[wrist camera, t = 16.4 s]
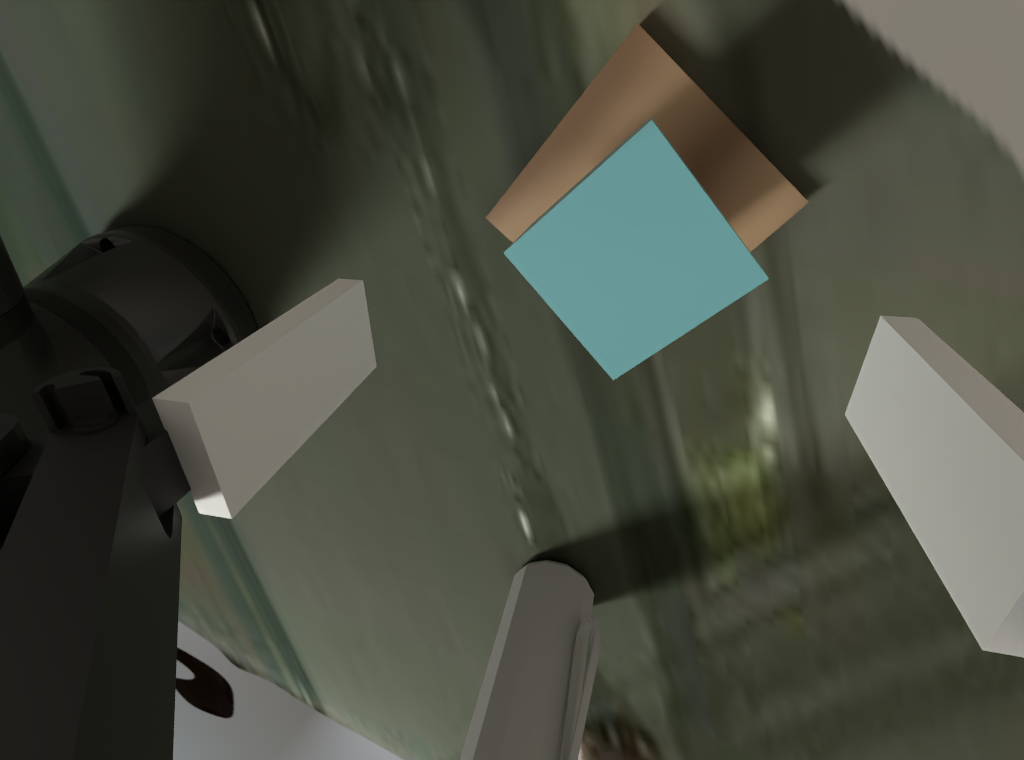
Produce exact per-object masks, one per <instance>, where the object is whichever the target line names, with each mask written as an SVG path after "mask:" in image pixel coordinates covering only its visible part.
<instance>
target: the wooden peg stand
mask: <svg viewBox="0 0 1024 760" xmlns="http://www.w3.org/2000/svg"><path fill="white" fill-rule="evenodd" d="M649 117H652V119H653V120H654V121H655V123H656V124H657V126H658V127H659V128H660V130H661V131H662V132H663V134H664V135H665V136H666V138H667V139H668V140H669V142H670V143H671V145H672V146H673V147H674V149H675V150H676V151H677V153H678V154H679V155H680V157H681V158H682V160H683V161H684V162H685V164H686V165H687V166H688V168H689V169H690V170H691V172H692V173H693V174H694V176H695V177H696V179H697V180H698V181H699V183H700V184H701V185H702V187H703V188H704V189H705V191H706V192H707V193H708V195H709V196H710V198H711V199H712V200H713V202H714V203H715V204H716V206H717V207H718V208H719V210H720V211H721V212H722V214H723V215H724V217H725V218H726V219H727V221H728V222H729V223H730V225H731V226H732V227H733V229H734V230H735V231H736V233H737V234H738V236H739V237H740V238H741V240H742V241H743V242H744V244H745V245H746V247H747V248H748V250H749V251H750V252H751V251H752V250H753V249H754V248H756V247H757V246H758V245H759V244H760V243H762V242H763V241H764V240H765V239H766V238H767V237H769V236H770V235H771V234H772V233H773V232H774V231H776V230H777V229H778V228H779V227H780V226H782V225H783V224H784V223H785V222H786V221H787V220H789V219H790V218H791V217H792V216H793V215H795V214H796V213H797V212H798V211H799V210H800V209H802V208H803V207H804V206H805V205H806V204H807V203H809V202H808V201H807V200H806V199H805V198H804V197H803V196H802V195H801V194H800V193H799V192H798V191H797V189H796V188H795V187H794V186H793V185H792V184H791V183H790V182H789V181H788V180H787V179H786V178H785V177H784V176H783V175H782V174H781V173H780V172H779V171H778V170H777V169H776V167H775V166H774V165H773V164H772V163H771V162H770V161H769V160H768V159H767V158H766V157H765V156H764V155H763V154H762V153H761V152H760V151H759V150H758V149H757V148H756V147H755V146H754V144H753V143H752V142H751V141H750V140H749V139H748V138H747V137H746V136H745V135H744V134H743V133H742V132H741V131H740V130H739V129H738V128H737V127H736V126H735V125H734V124H733V122H732V121H731V120H730V119H729V118H728V117H727V116H726V115H725V114H724V113H723V112H722V111H721V110H720V109H719V108H718V107H717V106H716V105H715V104H714V103H713V102H712V101H711V99H710V98H709V97H708V96H707V95H706V94H705V93H704V92H703V91H702V90H701V89H700V88H699V87H698V86H697V85H696V84H695V83H694V82H693V81H692V80H691V79H690V77H689V76H688V75H687V74H686V73H685V72H684V71H683V70H682V69H681V68H680V67H679V66H678V65H677V64H676V63H675V62H674V61H673V60H672V59H671V58H670V57H669V55H668V54H667V53H666V52H665V51H664V50H663V49H662V48H661V47H660V46H659V45H658V44H657V43H656V42H655V41H654V40H653V39H652V38H651V37H650V36H649V35H648V34H647V32H646V31H645V30H644V29H643V28H642V27H641V26H640V25H639V24H637V25H636V26H635V27H634V29H633V30H632V31H631V33H630V34H629V35H628V36H627V38H626V39H625V40H624V42H623V43H622V44H621V45H620V47H619V48H618V49H617V51H616V52H615V53H614V54H613V56H612V57H611V58H610V59H609V61H608V62H607V63H606V65H605V66H604V67H603V68H602V70H601V71H600V72H599V74H598V75H597V76H596V77H595V79H594V80H593V81H592V82H591V84H590V85H589V86H588V88H587V89H586V90H585V91H584V93H583V94H582V95H581V97H580V98H579V99H578V100H577V102H576V103H575V104H574V106H573V107H572V108H571V109H570V111H569V112H568V113H567V114H566V116H565V117H564V118H563V120H562V121H561V122H560V123H559V125H558V126H557V127H556V129H555V130H554V131H553V132H552V134H551V135H550V136H549V137H548V139H547V140H546V141H545V143H544V144H543V145H542V146H541V148H540V149H539V150H538V152H537V153H536V154H535V155H534V157H533V158H532V159H531V161H530V162H529V163H528V164H527V166H526V167H525V168H524V169H523V171H522V172H521V173H520V175H519V176H518V177H517V178H516V180H515V181H514V182H513V184H512V185H511V186H510V187H509V189H508V190H507V191H506V193H505V194H504V195H503V196H502V198H501V199H500V200H499V201H498V203H497V204H496V205H495V207H494V208H493V209H492V210H491V212H490V213H489V214H488V216H487V217H486V219H487V220H488V221H490V222H491V223H492V224H493V225H494V226H495V227H496V228H497V229H498V230H499V231H501V232H502V233H503V234H504V235H505V236H506V237H507V238H508V239H509V240H510V241H511V242H513V243H514V242H515V241H516V239H517V238H518V237H519V236H520V235H521V234H522V233H523V232H524V231H525V230H526V229H527V228H528V227H529V226H530V225H531V224H532V223H533V222H534V221H535V220H536V219H538V218H539V217H540V216H541V215H542V214H543V213H544V212H545V211H546V210H548V209H549V208H550V207H551V206H552V205H553V204H554V203H555V202H556V201H558V200H559V199H560V198H561V197H562V196H563V195H564V194H565V193H566V192H567V191H569V190H570V189H571V188H572V187H573V186H574V185H575V184H576V183H577V182H579V181H580V180H581V179H582V178H583V177H584V176H585V175H586V174H587V173H589V172H590V171H591V170H592V169H593V168H594V167H595V166H596V165H597V164H599V163H600V162H601V161H602V160H603V159H604V158H605V157H606V156H607V155H608V154H610V153H611V152H612V151H613V150H614V149H615V148H616V147H617V146H618V145H620V144H621V143H622V142H623V141H624V140H625V139H626V138H627V137H628V136H630V135H631V134H632V133H633V132H634V131H635V130H636V129H637V128H638V127H639V126H641V125H642V124H643V123H644V122H645V121H646V120H647V119H648V118H649Z"/></svg>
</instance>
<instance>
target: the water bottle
mask: <svg viewBox="0 0 1024 760" xmlns="http://www.w3.org/2000/svg"><path fill="white" fill-rule="evenodd" d="M593 600H594V593H593V591H592V589H591V588H590V586H589V584H588V582H587V580H586V579H585V577H584V576H583V575H582V574H580V573H579V572H577V571H576V570H574V569H573V568H571V567H570V566H568V565H567V564H563V563H558V562H554V561H550V560H544V561H538V562H531V563H529V564H527V565H526V566H524V567H523V568H522V569H521V570H520V571H519V572H517V573H516V574H515V576H514V579H513V582H512V586H511V589H510V593H509V596H508V599H507V603H506V606H505V609H504V613H503V616H502V620H501V623H500V626H499V630H498V633H497V637H496V640H495V643H494V647H493V650H492V653H491V657H490V660H489V664H488V667H487V670H486V674H485V677H484V681H483V684H482V687H481V691H480V694H479V697H478V701H477V704H476V708H475V711H474V714H473V718H472V721H471V725H470V728H469V731H468V735H467V738H466V741H465V745H464V748H463V752H462V755H461V758H460V760H578V755H579V750H580V746H581V741H582V736H583V731H584V726H585V721H586V716H587V711H588V707H589V702H590V697H591V692H592V687H593V682H594V677H595V672H596V668H597V663H598V658H599V653H600V635H601V632H600V624H599V620H598V619H597V618H596V617H595V616H594V615H592V608H593ZM592 626H593V637H592V648H591V653H590V658H589V662H588V667H587V672H586V677H585V682H584V686H583V691H582V685H583V677H584V670H585V662H586V654H587V646H588V639H589V631H590V628H591V627H592ZM581 693H582V696H581Z"/></svg>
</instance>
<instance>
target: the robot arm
mask: <svg viewBox="0 0 1024 760" xmlns="http://www.w3.org/2000/svg"><path fill="white" fill-rule="evenodd" d="M376 367H377V366H376V360H375V353H374V347H373V341H372V334H371V328H370V322H369V315H368V309H367V302H366V296H365V290H364V283H363V280H348V279H337V280H336V281H334V282H333V283H331V284H330V285H328V286H326V287H325V288H323V289H322V290H320V291H319V292H317V293H316V294H314V295H312V296H311V297H309V298H308V299H306V300H305V301H303V302H301V303H300V304H298V305H297V306H295V307H294V308H292V309H291V310H289V311H287V312H286V313H284V314H283V315H281V316H280V317H278V318H276V319H275V320H273V321H272V322H270V323H269V324H267V325H266V326H264V327H262V328H261V329H259V330H258V331H257V327H256V324H255V322H254V319H253V317H252V314H251V312H250V310H249V308H248V306H247V304H246V302H245V300H244V299H243V297H242V295H241V294H240V292H239V291H238V289H237V288H236V286H235V285H234V284H233V282H232V281H231V280H230V279H229V277H228V276H227V275H226V274H225V273H224V272H223V271H222V270H221V268H220V267H219V266H218V265H217V264H216V263H214V262H213V261H212V260H211V259H210V258H209V257H208V256H207V255H205V254H204V253H203V252H202V251H200V250H199V249H198V248H196V247H195V246H193V245H192V244H190V243H189V242H187V241H185V240H183V239H182V238H180V237H178V236H176V235H173V234H171V233H169V232H166V231H163V230H160V229H157V228H152V227H146V226H127V227H122V228H119V229H115V230H112V231H108V232H104V233H101V234H97V235H94V236H92V237H90V238H88V239H86V240H84V241H82V242H81V243H80V244H78V245H77V246H76V247H75V248H73V249H72V250H71V251H69V252H68V253H67V254H66V255H64V256H63V257H62V258H60V259H59V260H58V261H57V262H55V263H54V264H53V265H51V266H50V267H49V268H48V269H46V270H45V271H44V272H43V273H41V274H40V275H39V276H37V277H36V278H35V279H34V280H32V281H31V282H30V283H28V284H27V285H26V286H24V287H23V286H22V284H21V282H20V279H19V277H18V275H17V272H16V270H15V268H14V266H13V263H12V261H11V259H10V256H9V254H8V252H7V250H6V247H5V245H4V243H3V240H2V238H1V236H0V760H173V738H174V711H175V685H176V659H177V632H178V606H179V580H180V554H181V528H182V516H181V513H180V511H179V508H178V506H177V504H176V503H177V502H178V501H179V500H180V499H181V498H182V497H183V496H184V495H186V494H187V493H188V492H189V491H190V492H191V494H192V497H193V499H194V502H195V504H196V507H197V509H198V512H199V513H201V514H206V515H212V516H218V517H224V518H229V519H232V518H233V517H234V516H235V515H236V514H237V513H238V512H239V511H240V510H241V509H242V508H243V507H244V506H245V505H246V504H247V502H248V501H249V500H250V499H251V498H252V497H253V496H254V495H255V494H256V493H257V492H258V491H259V490H260V489H261V488H262V487H263V486H264V485H265V484H266V482H267V481H268V480H269V479H270V478H271V477H272V476H273V475H274V474H275V473H276V472H277V471H278V470H279V469H280V468H281V467H282V466H283V465H284V464H285V462H286V461H287V460H288V459H289V458H290V457H291V456H292V455H293V454H294V453H295V452H296V451H297V450H298V449H299V448H300V447H301V446H302V445H303V444H304V442H305V441H306V440H307V439H308V438H309V437H310V436H311V435H312V434H313V433H314V432H315V431H316V430H317V429H318V428H319V427H320V426H321V425H322V424H323V422H324V421H325V420H326V419H327V418H328V417H329V416H330V415H331V414H332V413H333V412H334V411H335V410H336V409H337V408H338V407H339V406H340V405H341V404H342V402H343V401H344V400H345V399H346V398H347V397H348V396H349V395H350V394H351V393H352V392H353V391H354V390H355V389H356V388H357V387H358V386H359V385H360V383H361V382H362V381H363V380H364V379H365V378H366V377H367V376H368V375H369V374H370V373H371V372H372V371H373V370H374V369H375V368H376ZM845 416H846V418H847V419H848V421H849V423H850V424H851V426H852V428H853V430H854V431H855V433H856V435H857V436H858V438H859V440H860V442H861V443H862V445H863V447H864V448H865V450H866V452H867V454H868V455H869V457H870V459H871V460H872V462H873V464H874V465H875V467H876V469H877V471H878V472H879V474H880V476H881V477H882V479H883V481H884V483H885V484H886V486H887V488H888V489H889V491H890V493H891V495H892V496H893V498H894V500H895V501H896V503H897V505H898V507H899V508H900V510H901V512H902V513H903V515H904V517H905V518H906V520H907V522H908V524H909V525H910V527H911V529H912V530H913V532H914V534H915V536H916V537H917V539H918V541H919V542H920V544H921V546H922V548H923V549H924V551H925V553H926V554H927V556H928V558H929V559H930V561H931V563H932V565H933V566H934V568H935V570H936V571H937V573H938V575H939V577H940V578H941V580H942V582H943V583H944V585H945V587H946V589H947V590H948V592H949V594H950V595H951V597H952V599H953V601H954V602H955V604H956V606H957V607H958V609H959V611H960V612H961V614H962V616H963V618H964V619H965V621H966V623H967V624H968V626H969V628H970V630H971V631H972V633H973V635H974V636H975V638H976V640H977V642H978V643H979V645H980V647H981V648H982V650H985V651H990V652H996V653H1002V654H1008V655H1013V656H1019V657H1024V412H1023V411H1021V410H1020V409H1019V408H1018V407H1017V406H1016V405H1015V404H1014V403H1012V402H1011V401H1010V400H1009V399H1008V398H1007V397H1006V396H1005V395H1003V394H1002V393H1001V392H1000V391H999V390H998V389H997V388H996V387H994V386H993V385H992V384H991V383H990V382H989V381H988V380H987V379H985V378H984V377H983V376H982V375H981V374H980V373H979V372H978V371H976V370H975V369H974V368H973V367H972V366H971V365H970V364H969V363H967V362H966V361H965V360H964V359H963V358H962V357H961V356H959V355H958V354H957V353H956V352H955V351H954V350H953V349H952V348H950V347H949V346H948V345H947V344H946V343H945V342H944V341H943V340H941V339H940V338H939V337H938V336H937V335H936V334H935V333H934V332H932V331H931V330H930V329H929V328H928V327H927V326H926V325H925V324H923V323H922V322H921V321H920V320H919V319H918V318H907V317H892V316H880V318H879V321H878V324H877V327H876V330H875V332H874V335H873V338H872V341H871V343H870V346H869V349H868V352H867V354H866V357H865V360H864V363H863V366H862V368H861V371H860V374H859V377H858V379H857V382H856V385H855V388H854V390H853V393H852V396H851V399H850V402H849V404H848V407H847V410H846V413H845Z"/></svg>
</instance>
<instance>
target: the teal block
mask: <svg viewBox="0 0 1024 760" xmlns="http://www.w3.org/2000/svg"><path fill="white" fill-rule="evenodd" d="M504 254H505V255H506V256H507V258H508V259H509V260H510V261H511V262H512V263H513V265H514V266H515V267H516V268H517V269H518V270H519V272H520V273H521V274H522V275H523V276H524V277H525V278H526V280H527V281H528V282H529V283H530V284H531V285H532V287H533V288H534V289H535V290H536V291H537V292H538V294H539V295H540V296H541V297H542V298H543V299H544V301H545V302H546V303H547V304H548V305H549V306H550V307H551V309H552V310H553V311H554V312H555V313H556V314H557V316H558V317H559V318H560V319H561V320H562V321H563V323H564V324H565V325H566V326H567V327H568V328H569V329H570V331H571V332H572V333H573V334H574V335H575V336H576V338H577V339H578V340H579V341H580V342H581V343H582V345H583V346H584V347H585V348H586V349H587V350H588V352H589V353H590V354H591V355H592V356H593V357H594V358H595V360H596V361H597V362H598V363H599V364H600V365H601V367H602V368H603V369H604V370H605V371H606V372H607V374H608V375H609V376H610V377H611V378H612V379H613V380H615V379H616V378H618V377H619V376H621V375H622V374H624V373H625V372H627V371H628V370H630V369H632V368H633V367H635V366H636V365H638V364H639V363H641V362H642V361H644V360H645V359H647V358H648V357H650V356H651V355H653V354H655V353H656V352H658V351H659V350H661V349H662V348H664V347H665V346H667V345H668V344H670V343H671V342H673V341H674V340H676V339H678V338H679V337H681V336H682V335H684V334H685V333H687V332H688V331H690V330H691V329H693V328H694V327H696V326H697V325H699V324H701V323H702V322H704V321H705V320H707V319H708V318H710V317H711V316H713V315H714V314H716V313H717V312H719V311H720V310H722V309H723V308H725V307H727V306H728V305H730V304H731V303H733V302H734V301H736V300H737V299H739V298H740V297H742V296H743V295H745V294H746V293H748V292H750V291H751V290H753V289H754V288H756V287H757V286H759V285H760V284H762V283H763V282H765V281H766V280H768V279H769V278H768V277H767V275H766V274H765V272H764V271H763V270H762V268H761V267H760V265H759V264H758V262H757V261H756V260H755V258H754V257H753V255H752V254H751V252H750V251H749V250H748V248H747V247H746V245H745V244H744V242H743V241H742V240H741V238H740V237H739V236H738V234H737V233H736V231H735V230H734V229H733V227H732V226H731V225H730V223H729V222H728V221H727V219H726V218H725V217H724V215H723V214H722V212H721V211H720V210H719V208H718V207H717V206H716V204H715V203H714V202H713V200H712V199H711V198H710V196H709V195H708V193H707V192H706V191H705V189H704V188H703V187H702V185H701V184H700V183H699V181H698V180H697V179H696V177H695V176H694V174H693V173H692V172H691V170H690V169H689V168H688V166H687V165H686V164H685V162H684V161H683V160H682V158H681V157H680V155H679V154H678V153H677V151H676V150H675V149H674V147H673V146H672V145H671V143H670V142H669V140H668V139H667V138H666V136H665V135H664V134H663V132H662V131H661V130H660V128H659V127H658V126H657V124H656V123H655V121H654V120H653V119H652V117H649V118H648V119H647V120H646V121H645V122H644V123H643V124H642V125H641V126H639V127H638V128H637V129H636V130H635V131H634V132H633V133H632V134H631V135H630V136H628V137H627V138H626V139H625V140H624V141H623V142H622V143H621V144H620V145H618V146H617V147H616V148H615V149H614V150H613V151H612V152H611V153H610V154H608V155H607V156H606V157H605V158H604V159H603V160H602V161H601V162H600V163H599V164H597V165H596V166H595V167H594V168H593V169H592V170H591V171H590V172H589V173H587V174H586V175H585V176H584V177H583V178H582V179H581V180H580V181H579V182H577V183H576V184H575V185H574V186H573V187H572V188H571V189H570V190H569V191H567V192H566V193H565V194H564V195H563V196H562V197H561V198H560V199H559V200H558V201H556V202H555V203H554V204H553V205H552V206H551V207H550V208H549V209H548V210H546V211H545V212H544V213H543V214H542V215H541V216H540V217H539V218H538V219H536V220H535V221H534V222H533V223H532V224H531V225H530V226H529V227H528V228H527V229H526V230H525V231H524V232H523V233H522V234H521V235H520V236H519V237H518V238H517V239H516V241H515V242H514V243H513V244H512V245H511V246H510V247H509V248H508V249H507V250H506V251H505V252H504Z"/></svg>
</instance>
